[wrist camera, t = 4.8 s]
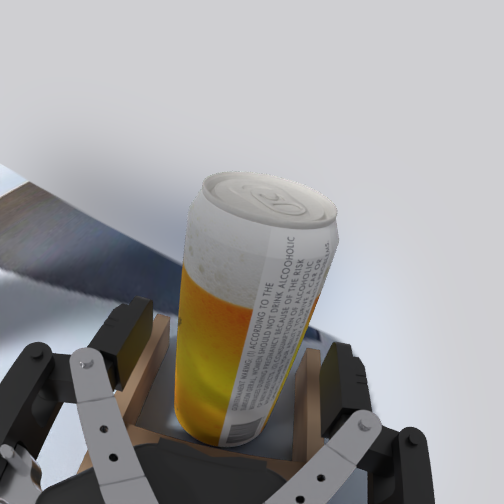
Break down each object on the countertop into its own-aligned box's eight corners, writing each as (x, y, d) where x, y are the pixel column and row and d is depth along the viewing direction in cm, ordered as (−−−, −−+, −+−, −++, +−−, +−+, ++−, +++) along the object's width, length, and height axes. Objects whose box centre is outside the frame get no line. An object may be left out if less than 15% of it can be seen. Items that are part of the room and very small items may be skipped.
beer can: (236, 369, 23) (285, 170, 16) (282, 431, 19) (377, 222, 12) (160, 391, 20) (170, 168, 13) (199, 465, 16) (244, 234, 9)
